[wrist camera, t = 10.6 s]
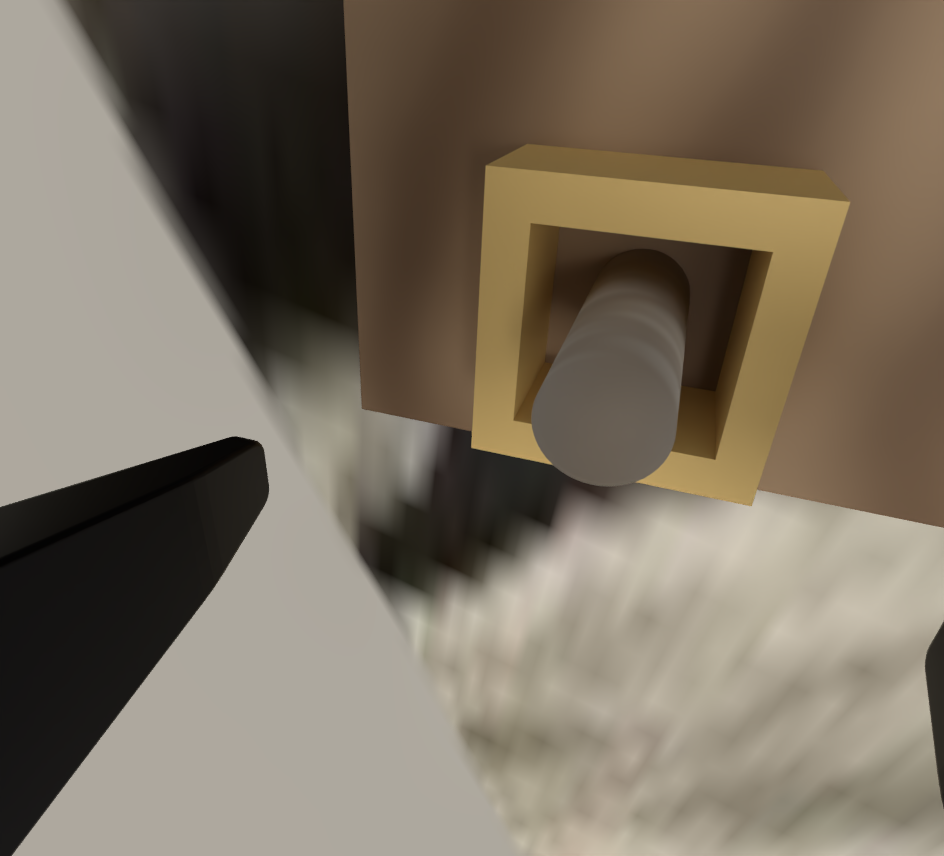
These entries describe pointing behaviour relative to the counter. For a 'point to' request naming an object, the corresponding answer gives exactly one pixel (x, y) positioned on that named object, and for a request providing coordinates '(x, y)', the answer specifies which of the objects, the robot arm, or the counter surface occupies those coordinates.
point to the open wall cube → (666, 217)
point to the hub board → (653, 259)
